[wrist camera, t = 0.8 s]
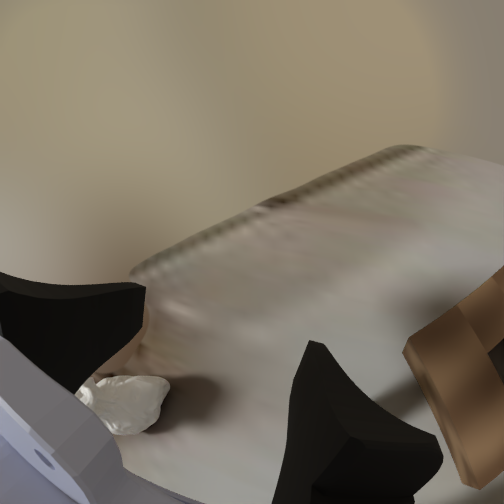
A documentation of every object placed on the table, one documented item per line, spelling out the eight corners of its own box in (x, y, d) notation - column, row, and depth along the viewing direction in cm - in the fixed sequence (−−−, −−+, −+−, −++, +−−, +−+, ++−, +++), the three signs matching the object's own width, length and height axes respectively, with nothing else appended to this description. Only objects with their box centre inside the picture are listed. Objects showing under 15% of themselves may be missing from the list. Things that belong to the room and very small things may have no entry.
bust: (117, 420, 27) (64, 464, 16) (89, 367, 27) (24, 397, 16) (197, 405, 26) (151, 468, 14) (164, 341, 26) (98, 380, 15)
